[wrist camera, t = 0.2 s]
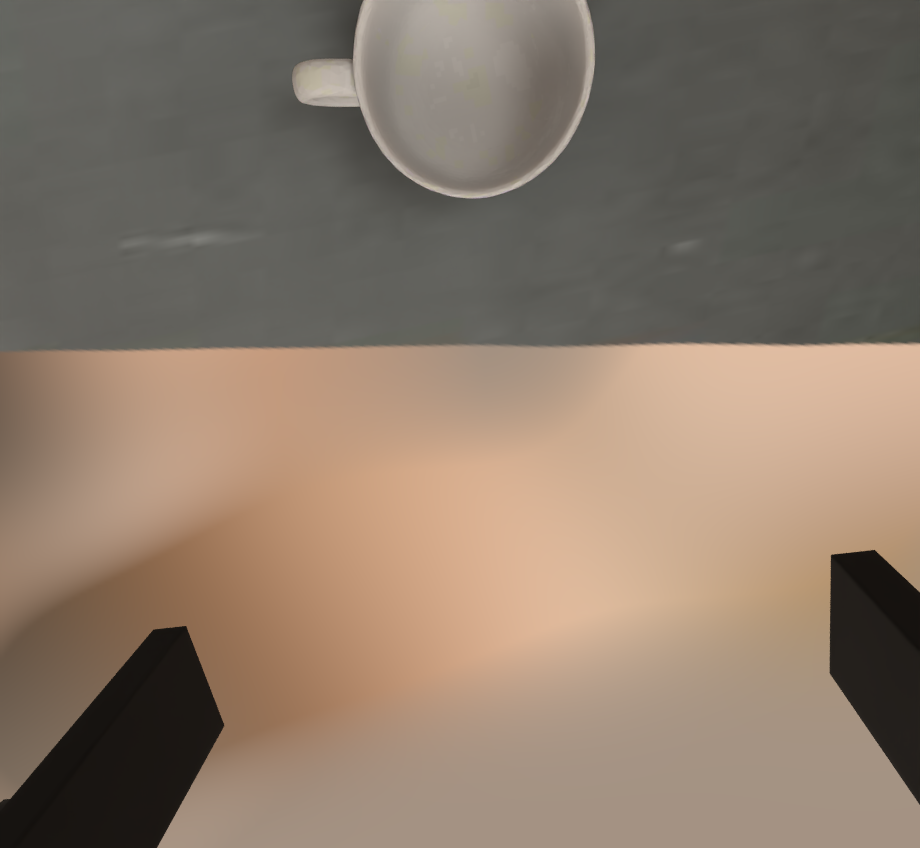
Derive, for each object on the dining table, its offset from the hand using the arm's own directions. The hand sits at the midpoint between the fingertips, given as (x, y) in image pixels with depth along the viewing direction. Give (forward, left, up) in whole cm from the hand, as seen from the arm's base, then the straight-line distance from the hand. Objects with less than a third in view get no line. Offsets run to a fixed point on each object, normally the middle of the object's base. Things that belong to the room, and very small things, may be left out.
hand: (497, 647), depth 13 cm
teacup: (-15, -1, -28) cm, 32 cm away
